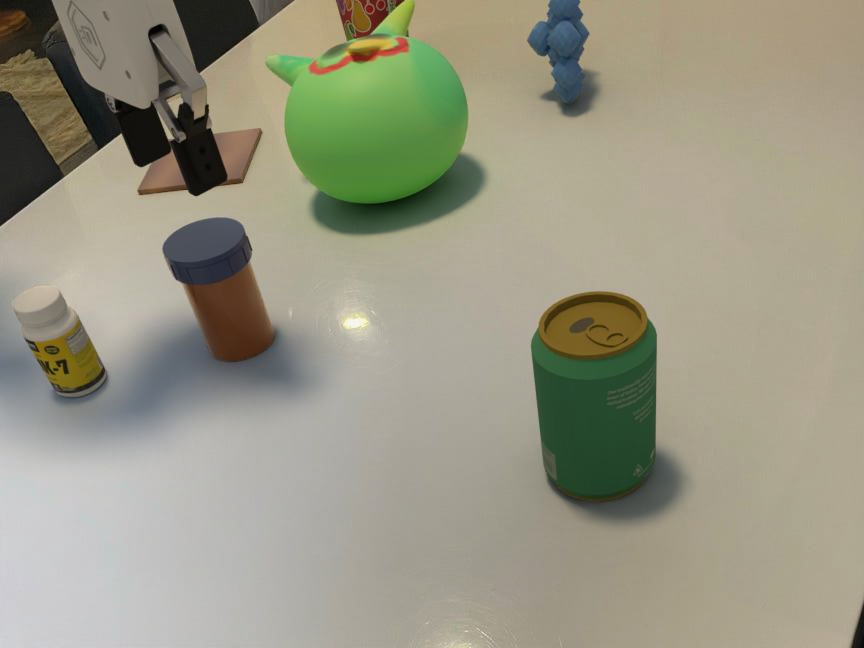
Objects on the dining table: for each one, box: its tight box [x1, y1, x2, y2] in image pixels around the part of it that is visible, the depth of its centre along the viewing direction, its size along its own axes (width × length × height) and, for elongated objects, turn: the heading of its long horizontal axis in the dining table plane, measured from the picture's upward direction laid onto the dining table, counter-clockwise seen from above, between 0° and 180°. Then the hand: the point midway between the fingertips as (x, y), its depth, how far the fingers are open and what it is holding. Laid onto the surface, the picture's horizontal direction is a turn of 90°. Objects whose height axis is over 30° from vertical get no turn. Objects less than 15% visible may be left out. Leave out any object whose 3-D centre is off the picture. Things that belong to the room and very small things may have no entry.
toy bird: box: [264, 0, 469, 205], centre depth 94 cm, size 18×17×15 cm
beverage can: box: [530, 290, 658, 502], centre depth 65 cm, size 8×8×12 cm
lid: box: [161, 216, 254, 285], centre depth 79 cm, size 7×7×2 cm
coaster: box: [137, 127, 263, 195], centre depth 109 cm, size 12×12×1 cm
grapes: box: [526, 0, 590, 105], centre depth 103 cm, size 12×7×12 cm, turn 175°
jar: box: [180, 260, 276, 363], centre depth 82 cm, size 6×6×9 cm
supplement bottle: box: [11, 284, 107, 398], centre depth 82 cm, size 5×5×8 cm
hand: (180, 171), depth 74 cm, fingers open, 7 cm apart
